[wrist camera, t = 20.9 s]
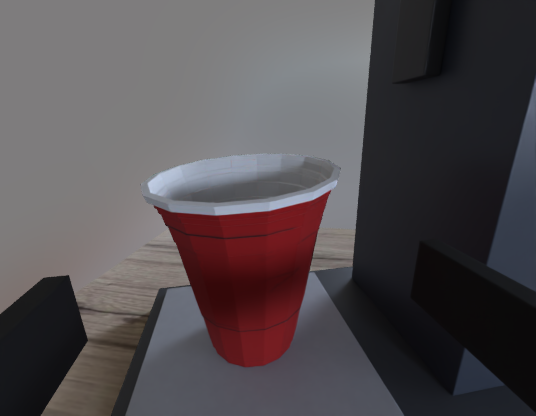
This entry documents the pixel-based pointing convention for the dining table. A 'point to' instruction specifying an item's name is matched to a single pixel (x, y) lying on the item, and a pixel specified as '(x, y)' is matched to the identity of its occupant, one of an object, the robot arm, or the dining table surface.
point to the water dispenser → (389, 237)
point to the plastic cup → (246, 243)
